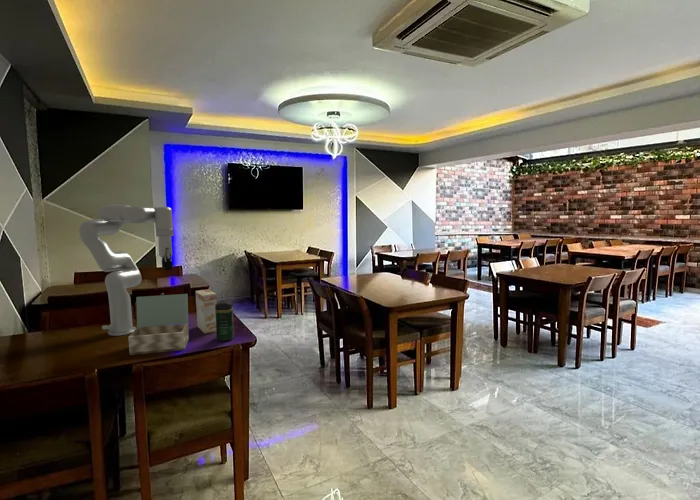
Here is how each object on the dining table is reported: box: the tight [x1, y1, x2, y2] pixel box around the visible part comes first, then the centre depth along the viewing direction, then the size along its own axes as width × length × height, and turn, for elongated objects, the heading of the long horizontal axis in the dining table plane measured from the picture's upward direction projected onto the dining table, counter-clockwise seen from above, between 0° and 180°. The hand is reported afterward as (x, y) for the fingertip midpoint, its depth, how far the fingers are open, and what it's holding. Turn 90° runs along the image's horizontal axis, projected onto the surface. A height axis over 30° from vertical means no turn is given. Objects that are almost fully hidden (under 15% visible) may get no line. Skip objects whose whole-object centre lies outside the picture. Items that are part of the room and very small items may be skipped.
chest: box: [128, 323, 190, 356], centre depth 180 cm, size 22×14×8 cm, turn 104°
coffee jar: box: [215, 299, 235, 342], centre depth 190 cm, size 10×8×19 cm
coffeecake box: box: [195, 289, 217, 334], centre depth 206 cm, size 15×7×20 cm, turn 34°
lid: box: [135, 292, 189, 328], centre depth 188 cm, size 22×15×2 cm
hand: (167, 268), depth 191 cm, fingers open, 9 cm apart
